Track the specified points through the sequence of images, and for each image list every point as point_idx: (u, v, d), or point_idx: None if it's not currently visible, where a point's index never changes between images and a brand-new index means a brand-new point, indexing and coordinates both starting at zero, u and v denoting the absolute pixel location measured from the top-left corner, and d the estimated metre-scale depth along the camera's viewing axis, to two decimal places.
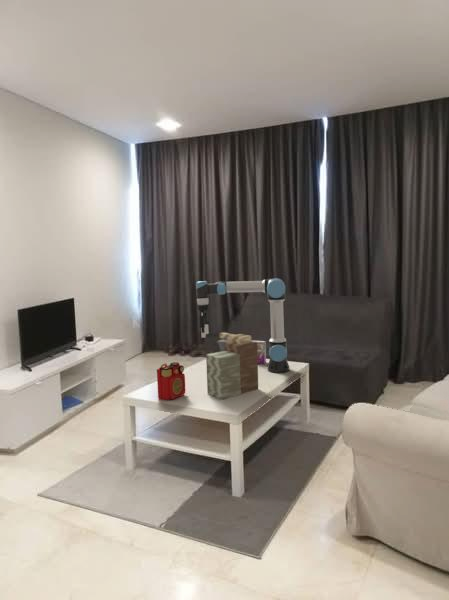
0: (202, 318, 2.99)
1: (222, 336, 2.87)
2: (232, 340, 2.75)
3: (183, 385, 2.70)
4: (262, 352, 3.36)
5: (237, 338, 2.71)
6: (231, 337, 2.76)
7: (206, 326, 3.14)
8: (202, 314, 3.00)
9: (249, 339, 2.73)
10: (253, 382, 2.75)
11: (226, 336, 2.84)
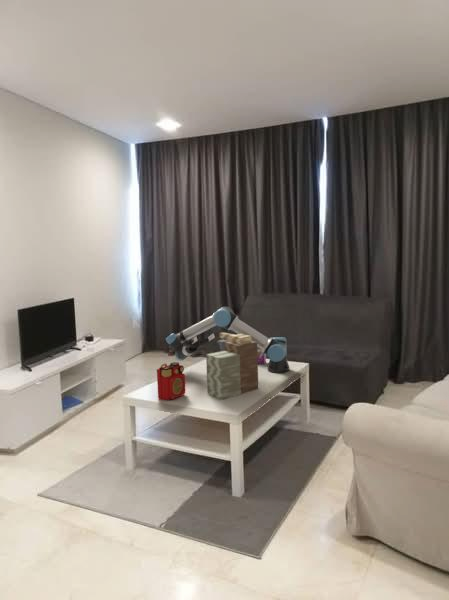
0: (185, 345, 2.97)
1: (222, 336, 2.87)
2: (232, 340, 2.75)
3: (183, 385, 2.70)
4: (262, 352, 3.36)
5: (237, 338, 2.71)
6: (231, 337, 2.76)
7: (209, 338, 3.00)
8: (185, 346, 3.00)
9: (249, 339, 2.73)
10: (253, 382, 2.75)
11: (226, 336, 2.84)
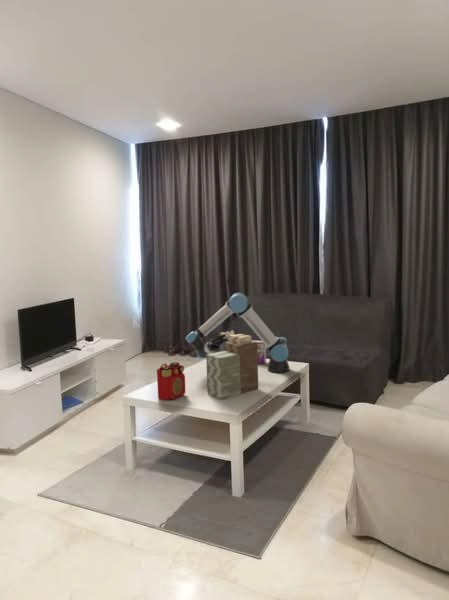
0: (213, 341, 2.88)
1: None
2: (232, 340, 2.75)
3: (183, 385, 2.70)
4: (262, 352, 3.36)
5: (237, 338, 2.71)
6: (231, 337, 2.76)
7: None
8: (210, 342, 2.90)
9: (249, 339, 2.73)
10: (253, 382, 2.75)
11: None
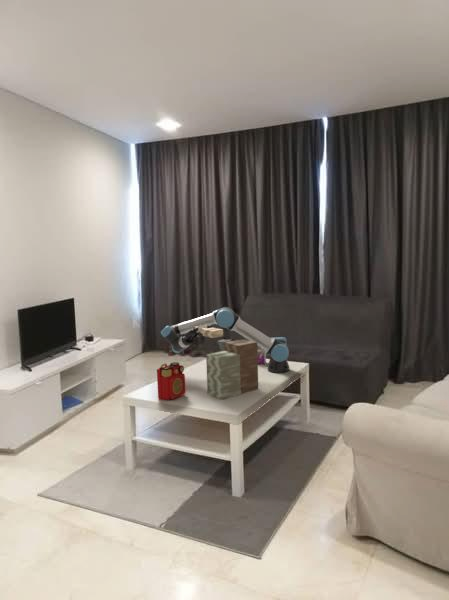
0: (186, 335, 2.88)
1: None
2: (204, 334, 2.75)
3: (183, 385, 2.70)
4: (262, 352, 3.36)
5: (209, 331, 2.71)
6: (203, 331, 2.76)
7: None
8: (183, 336, 2.90)
9: (221, 333, 2.73)
10: (253, 382, 2.75)
11: None
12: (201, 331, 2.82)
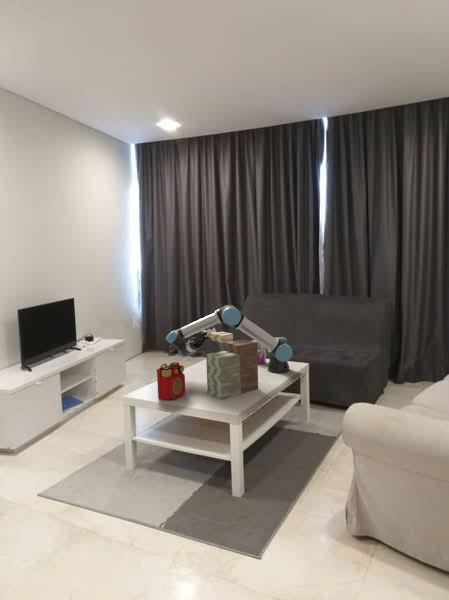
0: (194, 339, 2.79)
1: None
2: (213, 338, 2.66)
3: (183, 385, 2.70)
4: (262, 352, 3.36)
5: (218, 336, 2.62)
6: (212, 335, 2.67)
7: None
8: (191, 341, 2.81)
9: (231, 337, 2.64)
10: (253, 382, 2.75)
11: None
12: (210, 335, 2.73)
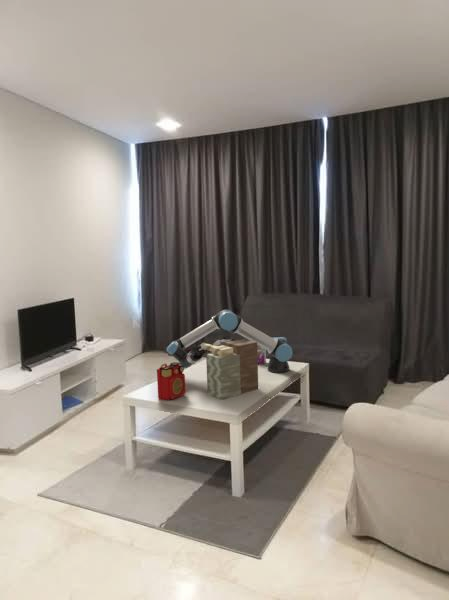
0: (191, 352, 2.80)
1: None
2: (214, 352, 2.67)
3: (183, 385, 2.70)
4: (262, 352, 3.36)
5: (219, 350, 2.63)
6: (213, 349, 2.68)
7: (214, 344, 2.82)
8: (190, 353, 2.83)
9: (231, 351, 2.65)
10: (253, 382, 2.75)
11: (208, 348, 2.76)
12: (210, 349, 2.74)
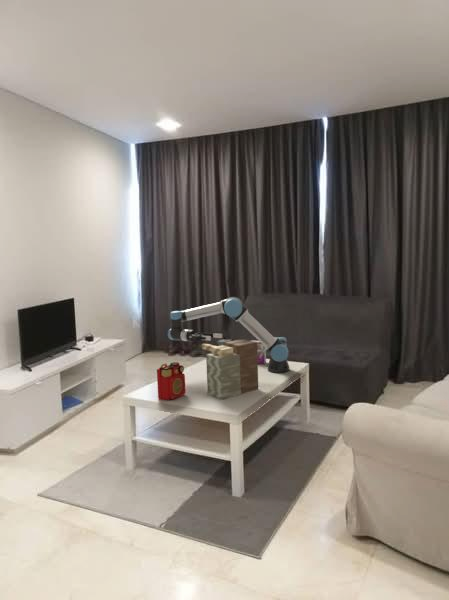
0: (192, 337, 2.91)
1: (204, 347, 2.79)
2: (214, 352, 2.67)
3: (183, 385, 2.70)
4: (262, 352, 3.36)
5: (219, 350, 2.63)
6: (213, 349, 2.68)
7: (214, 335, 2.99)
8: (190, 336, 2.93)
9: (231, 351, 2.65)
10: (253, 382, 2.75)
11: (208, 348, 2.76)
12: (210, 349, 2.74)
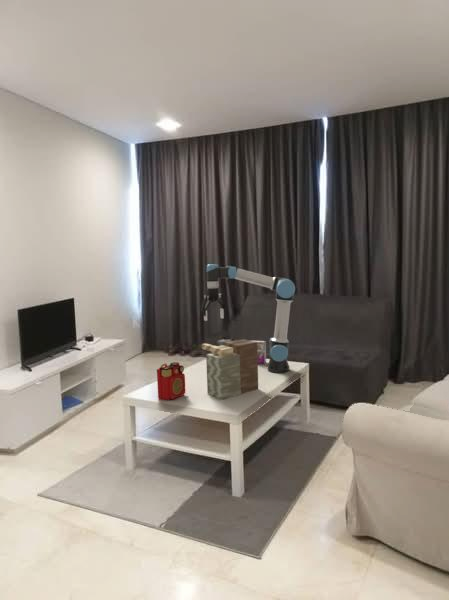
0: (204, 301, 2.98)
1: (204, 347, 2.79)
2: (214, 352, 2.67)
3: (183, 385, 2.70)
4: (262, 352, 3.36)
5: (219, 350, 2.63)
6: (213, 349, 2.68)
7: (221, 310, 3.08)
8: (205, 297, 2.98)
9: (231, 351, 2.65)
10: (253, 382, 2.75)
11: (208, 348, 2.76)
12: (210, 349, 2.74)
